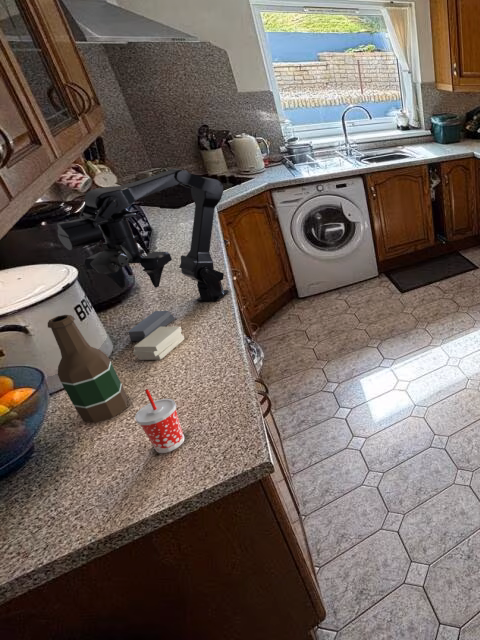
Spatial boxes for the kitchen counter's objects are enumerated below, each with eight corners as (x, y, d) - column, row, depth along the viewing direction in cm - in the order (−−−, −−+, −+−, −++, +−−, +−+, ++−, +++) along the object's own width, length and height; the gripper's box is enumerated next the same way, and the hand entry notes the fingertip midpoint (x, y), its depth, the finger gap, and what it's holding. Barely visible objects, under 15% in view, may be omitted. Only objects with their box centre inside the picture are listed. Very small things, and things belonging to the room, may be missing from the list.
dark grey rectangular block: (160, 319, 123) (156, 309, 121) (175, 319, 123) (172, 309, 122) (129, 341, 113) (125, 331, 111) (146, 341, 113) (142, 331, 112)
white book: (161, 330, 113) (159, 326, 112) (182, 330, 113) (180, 326, 112) (135, 351, 105) (133, 346, 104) (157, 351, 105) (155, 346, 104)
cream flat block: (162, 339, 114) (159, 330, 113) (185, 338, 114) (182, 330, 113) (135, 361, 105) (131, 352, 104) (159, 360, 106) (156, 352, 104)
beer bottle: (89, 430, 85) (36, 334, 75) (76, 414, 89) (24, 321, 79) (136, 406, 91) (92, 315, 81) (122, 393, 95) (79, 304, 85)
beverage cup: (180, 453, 81) (155, 399, 75) (144, 458, 79) (116, 403, 74) (194, 429, 86) (173, 376, 80) (161, 433, 85) (137, 380, 79)
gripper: (53, 248, 102) (79, 302, 108) (131, 248, 103) (153, 301, 109) (92, 232, 112) (114, 282, 118) (163, 232, 113) (181, 281, 119)
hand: (140, 287), depth 116 cm, fingers open, 9 cm apart
